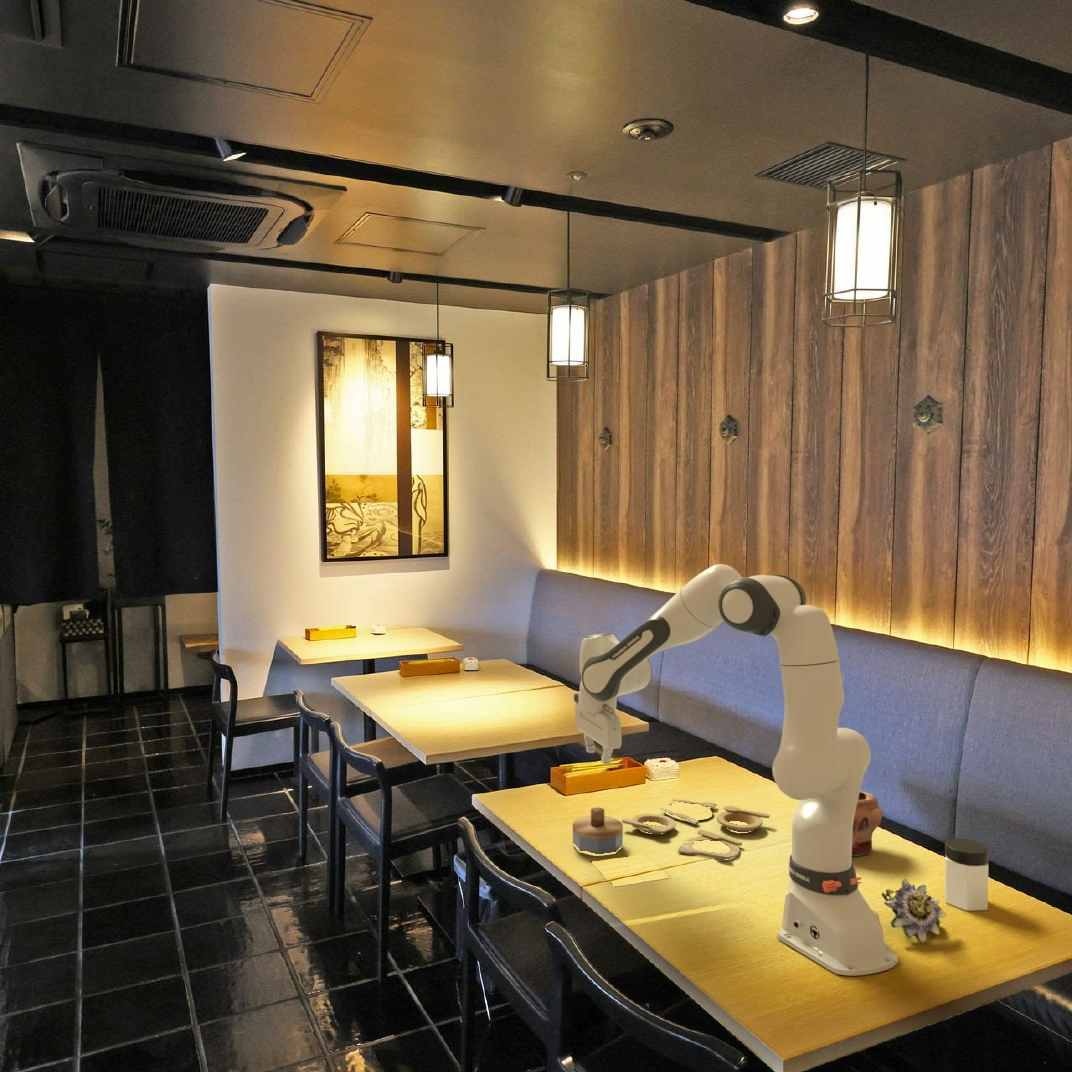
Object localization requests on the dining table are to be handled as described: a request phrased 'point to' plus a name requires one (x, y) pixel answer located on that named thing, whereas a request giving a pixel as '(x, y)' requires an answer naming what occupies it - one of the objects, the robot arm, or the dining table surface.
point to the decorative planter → (865, 823)
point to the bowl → (598, 844)
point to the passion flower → (914, 910)
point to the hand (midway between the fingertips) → (598, 757)
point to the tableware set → (722, 818)
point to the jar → (966, 874)
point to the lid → (597, 826)
